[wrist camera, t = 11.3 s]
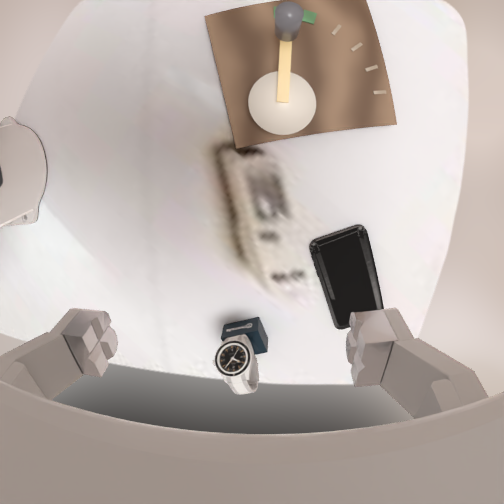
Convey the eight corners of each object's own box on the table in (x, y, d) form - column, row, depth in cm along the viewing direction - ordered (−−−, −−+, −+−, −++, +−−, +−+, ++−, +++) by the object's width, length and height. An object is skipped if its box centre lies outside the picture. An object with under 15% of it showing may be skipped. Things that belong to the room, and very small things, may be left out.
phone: (365, 224, 36) (384, 314, 41) (362, 221, 37) (382, 310, 42) (306, 244, 37) (335, 331, 43) (305, 240, 38) (334, 327, 44)
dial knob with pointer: (311, 137, 31) (324, 141, 23) (247, 132, 31) (239, 134, 24) (317, 26, 25) (331, -1, 18) (254, 21, 26) (248, -8, 18)
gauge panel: (237, 147, 34) (236, 148, 32) (207, 20, 27) (204, 15, 26) (392, 124, 31) (397, 124, 29) (361, -1, 24) (364, -6, 23)
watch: (254, 306, 43) (248, 360, 33) (271, 346, 45) (269, 400, 35) (218, 315, 44) (204, 368, 34) (237, 353, 47) (229, 406, 37)
